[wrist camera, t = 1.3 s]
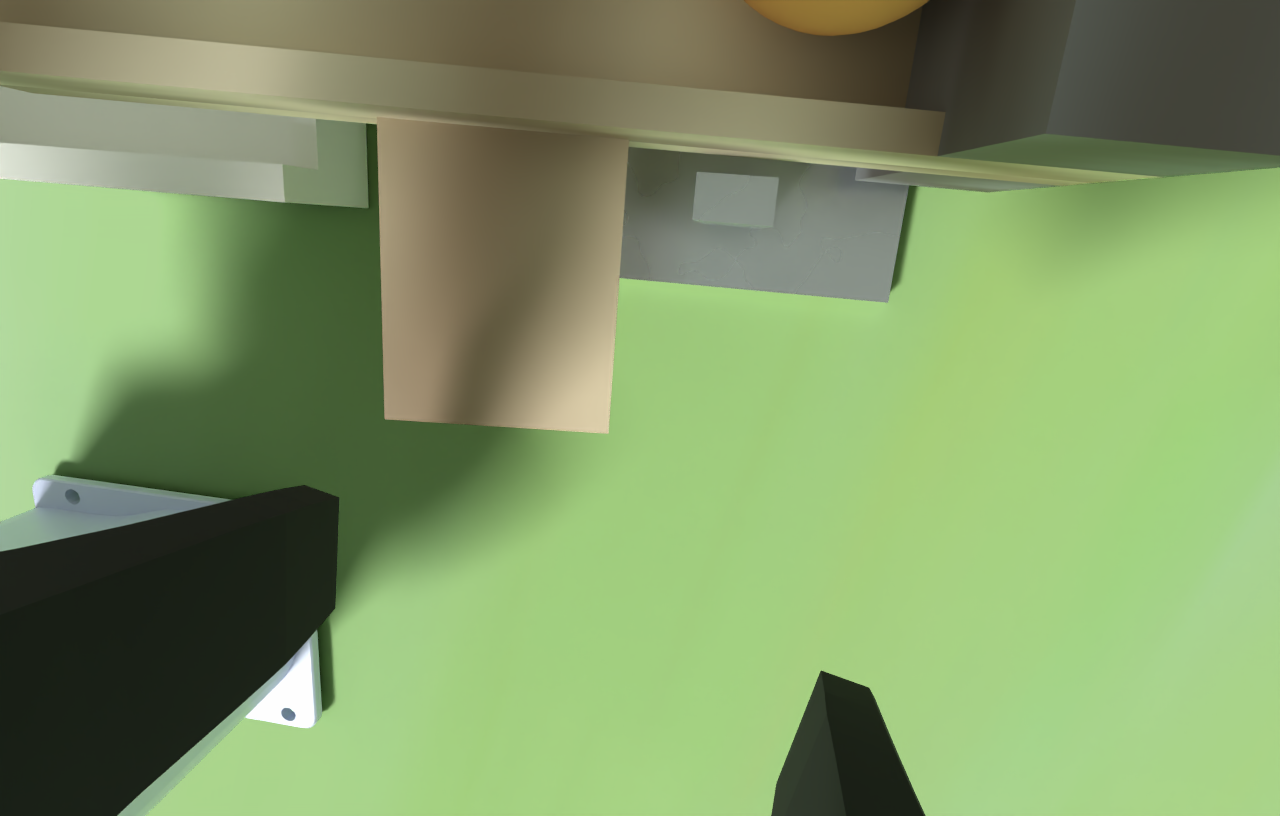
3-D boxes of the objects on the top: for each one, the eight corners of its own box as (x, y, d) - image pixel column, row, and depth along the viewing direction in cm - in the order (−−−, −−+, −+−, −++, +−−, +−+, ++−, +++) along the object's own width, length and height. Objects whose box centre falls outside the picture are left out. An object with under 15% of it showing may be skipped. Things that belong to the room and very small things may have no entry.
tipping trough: (1064, -173, 13) (1632, -672, 6) (941, 410, 16) (1205, 560, 9) (89, -293, 12) (-723, -1092, 5) (165, 356, 15) (-247, 478, 8)
